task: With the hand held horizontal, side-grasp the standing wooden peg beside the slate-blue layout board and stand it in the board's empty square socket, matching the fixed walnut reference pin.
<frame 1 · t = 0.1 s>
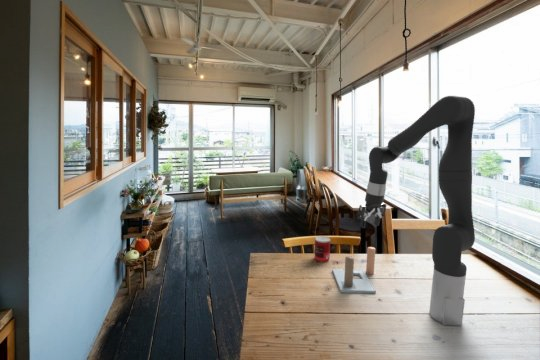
hand: (369, 226, 125), 22 cm above the table, tool pointing down, fingers open, 8 cm apart
wooden peg: (369, 273, 127), on the table
layout board: (352, 281, 120), on the table
canned food: (322, 259, 142), on the table
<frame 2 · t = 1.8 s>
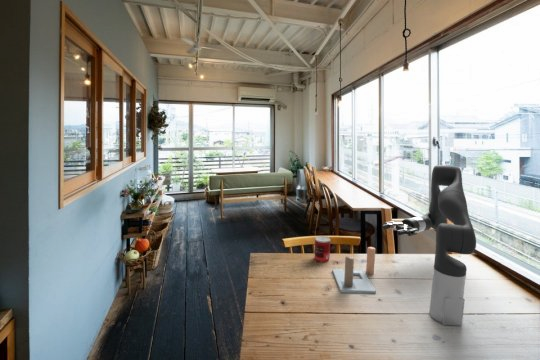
hand: (389, 230, 129), 19 cm above the table, tool horizontal, fingers open, 8 cm apart
nothing on the table moved.
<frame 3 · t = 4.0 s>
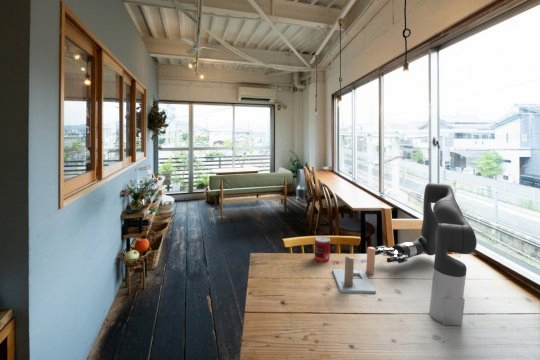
hand: (380, 256, 129), 7 cm above the table, tool horizontal, fingers open, 8 cm apart
nothing on the table moved.
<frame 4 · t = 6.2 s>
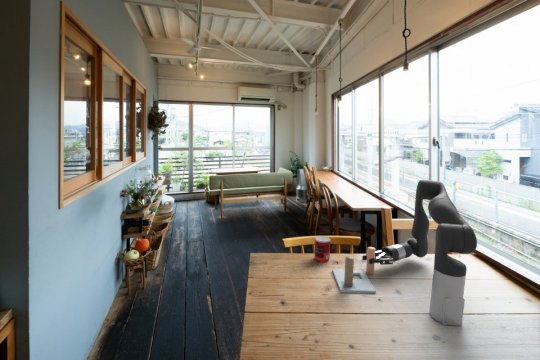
hand: (366, 259, 125), 7 cm above the table, tool horizontal, fingers closed on wooden peg, 3 cm apart
wooden peg: (369, 273, 127), on the table, touching gripper
everything else where it was.
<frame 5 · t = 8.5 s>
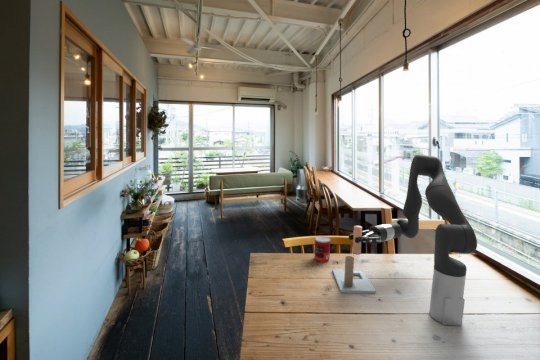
hand: (352, 238, 119), 19 cm above the table, tool horizontal, fingers closed on wooden peg, 3 cm apart
wooden peg: (356, 253, 121), point 12 cm above the table, touching gripper
everything else where it was.
when the fingers open (9 cm above the table, at t = 11.0 s): wooden peg drops 2 cm, resting in layout board.
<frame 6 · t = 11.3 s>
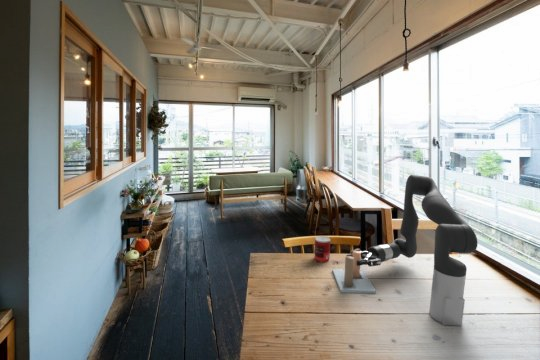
hand: (351, 260, 120), 9 cm above the table, tool horizontal, fingers open, 6 cm apart
wooden peg: (355, 277, 123), resting in layout board
everything else where it was.
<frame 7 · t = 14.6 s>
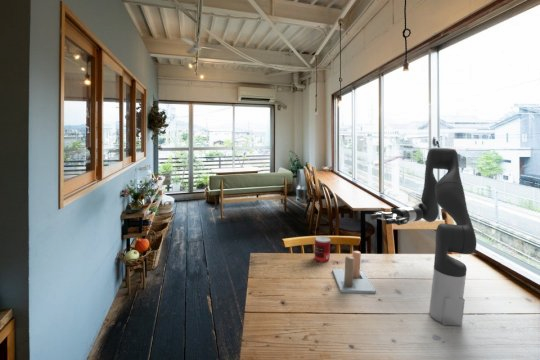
hand: (378, 219, 124), 26 cm above the table, tool horizontal, fingers open, 8 cm apart
nothing on the table moved.
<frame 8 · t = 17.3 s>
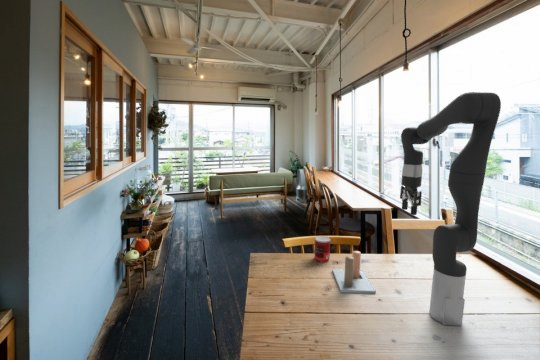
hand: (408, 212, 119), 30 cm above the table, tool pointing down, fingers open, 8 cm apart
nothing on the table moved.
at the end: wooden peg 0.1 cm from the target spot on the layout board, point 0.0 cm above the layout board's base; wooden peg tilted 0°; the gripper is holding nothing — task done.
